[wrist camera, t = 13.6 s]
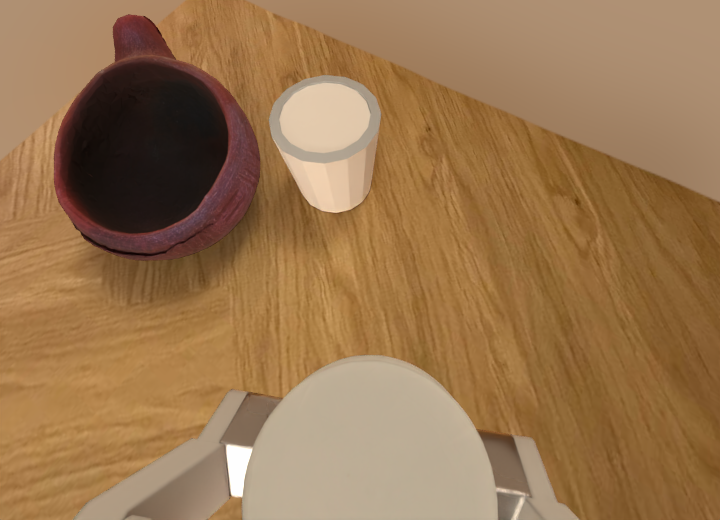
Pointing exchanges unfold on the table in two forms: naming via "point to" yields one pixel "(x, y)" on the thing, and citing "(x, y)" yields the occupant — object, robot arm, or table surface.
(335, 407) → the pill bottle
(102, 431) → the table surface
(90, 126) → the bowl
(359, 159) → the shot glass
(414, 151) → the table surface
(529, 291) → the table surface
